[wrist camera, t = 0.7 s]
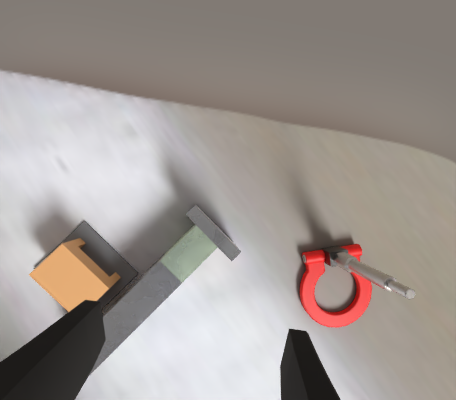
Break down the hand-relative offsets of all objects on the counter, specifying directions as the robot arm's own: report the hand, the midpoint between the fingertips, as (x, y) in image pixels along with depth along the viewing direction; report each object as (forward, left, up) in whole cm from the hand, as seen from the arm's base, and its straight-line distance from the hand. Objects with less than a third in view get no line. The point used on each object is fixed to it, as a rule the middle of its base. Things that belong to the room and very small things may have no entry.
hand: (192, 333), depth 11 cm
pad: (-10, +6, -21) cm, 24 cm away
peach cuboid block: (-10, +6, -21) cm, 24 cm away
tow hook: (+8, -15, -21) cm, 27 cm away
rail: (-7, 0, -21) cm, 22 cm away
